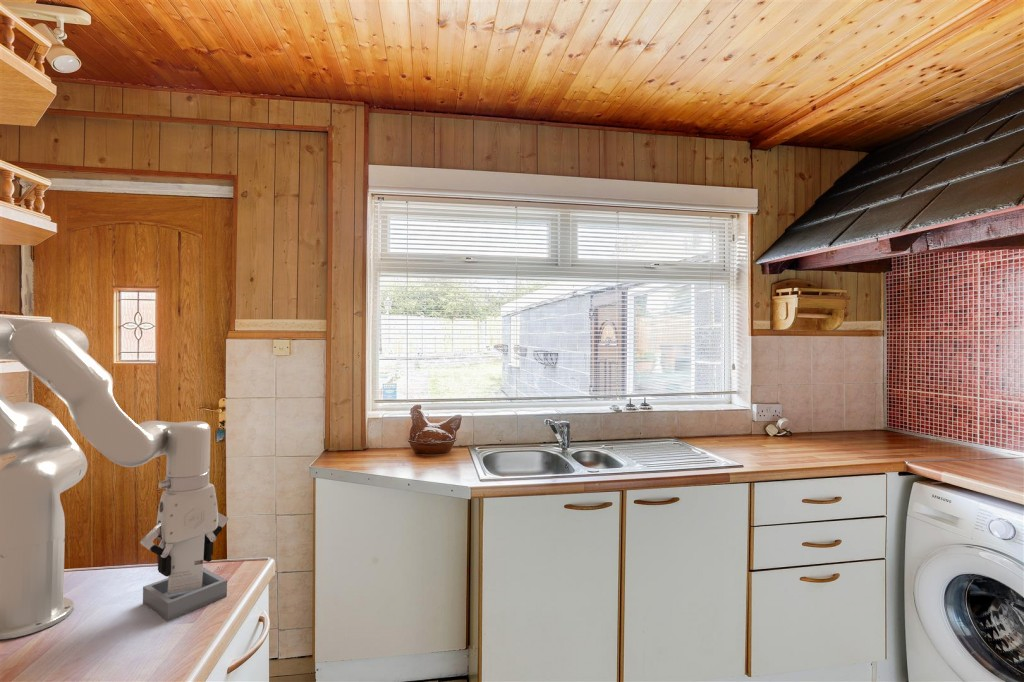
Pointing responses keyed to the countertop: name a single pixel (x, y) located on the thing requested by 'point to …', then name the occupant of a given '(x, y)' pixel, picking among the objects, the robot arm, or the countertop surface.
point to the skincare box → (186, 565)
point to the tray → (183, 596)
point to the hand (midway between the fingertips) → (186, 566)
